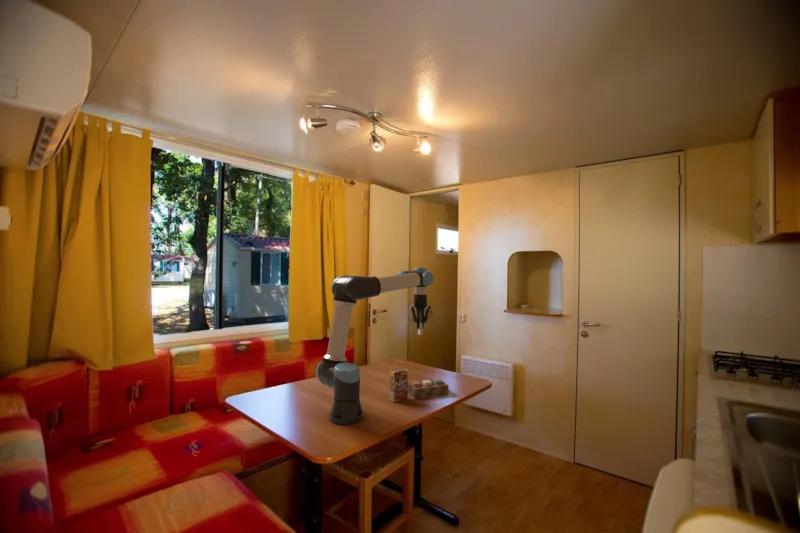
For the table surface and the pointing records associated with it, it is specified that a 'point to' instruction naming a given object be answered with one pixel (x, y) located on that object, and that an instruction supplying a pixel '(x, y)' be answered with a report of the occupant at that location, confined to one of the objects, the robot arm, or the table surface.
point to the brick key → (416, 384)
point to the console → (428, 390)
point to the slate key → (437, 381)
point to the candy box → (398, 385)
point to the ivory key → (426, 382)
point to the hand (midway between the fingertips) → (420, 334)
